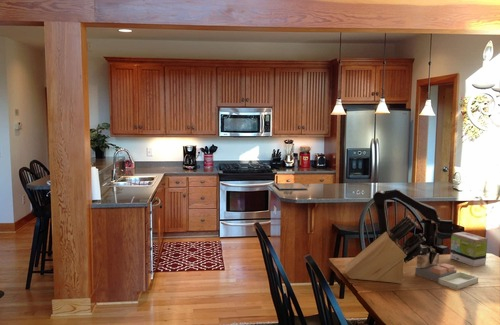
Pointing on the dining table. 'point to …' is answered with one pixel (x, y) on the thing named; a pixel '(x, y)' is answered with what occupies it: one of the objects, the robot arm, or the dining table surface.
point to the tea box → (468, 248)
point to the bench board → (431, 273)
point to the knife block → (386, 255)
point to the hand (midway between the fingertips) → (427, 262)
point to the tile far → (447, 267)
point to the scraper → (426, 260)
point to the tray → (457, 280)
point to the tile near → (438, 270)
